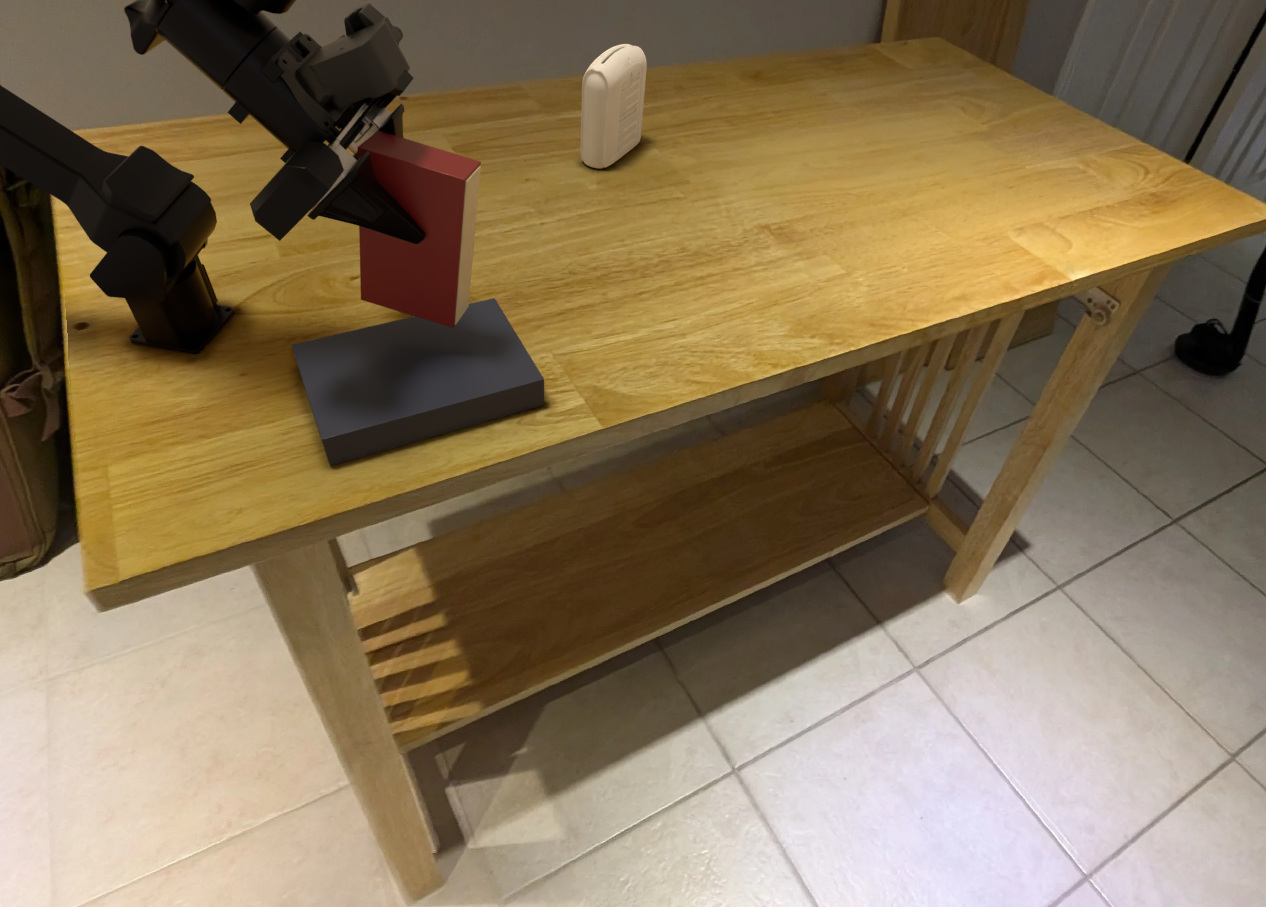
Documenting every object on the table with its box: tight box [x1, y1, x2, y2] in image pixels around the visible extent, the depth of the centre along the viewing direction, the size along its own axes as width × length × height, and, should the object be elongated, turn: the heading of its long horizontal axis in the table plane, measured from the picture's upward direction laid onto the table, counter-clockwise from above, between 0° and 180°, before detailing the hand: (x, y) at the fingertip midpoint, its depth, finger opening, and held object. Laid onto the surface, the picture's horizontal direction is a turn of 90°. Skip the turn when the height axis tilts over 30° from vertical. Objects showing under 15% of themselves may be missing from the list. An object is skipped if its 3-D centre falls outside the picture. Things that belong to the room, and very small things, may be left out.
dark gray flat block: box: [290, 297, 546, 467], centre depth 67 cm, size 18×12×3 cm, turn 117°
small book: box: [357, 131, 482, 328], centre depth 62 cm, size 8×4×13 cm, turn 77°
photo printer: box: [580, 43, 648, 169], centre depth 95 cm, size 10×4×12 cm, turn 151°
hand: (429, 226), depth 61 cm, fingers closed on small book, 4 cm apart
